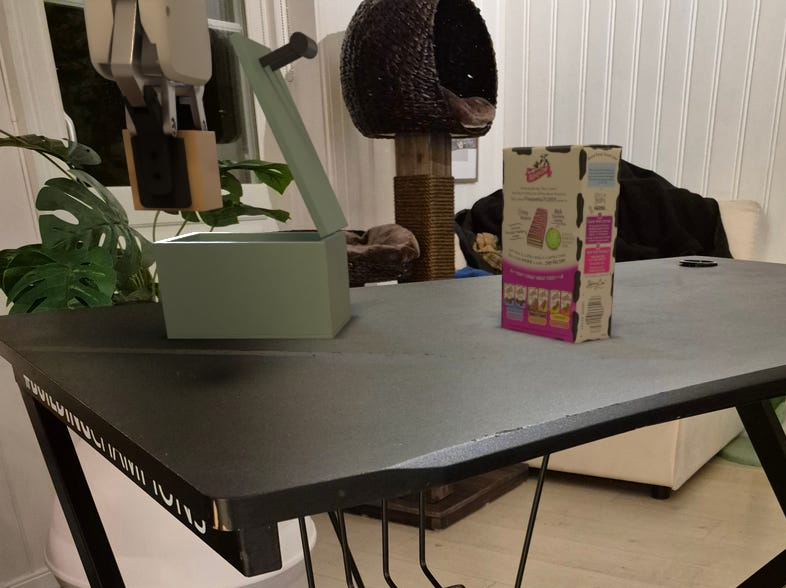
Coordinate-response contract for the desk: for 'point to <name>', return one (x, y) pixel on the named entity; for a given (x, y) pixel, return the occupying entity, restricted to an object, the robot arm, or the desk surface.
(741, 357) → the desk surface
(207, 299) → the bin
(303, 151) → the lid
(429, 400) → the desk surface
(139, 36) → the robot arm
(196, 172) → the block
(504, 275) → the candy bar box
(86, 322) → the desk surface
